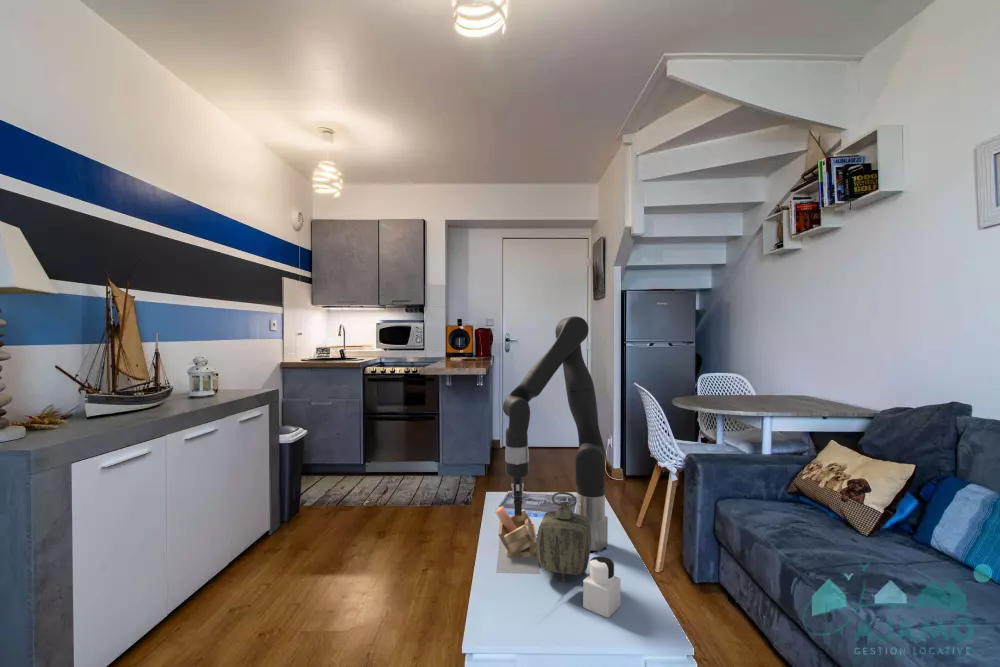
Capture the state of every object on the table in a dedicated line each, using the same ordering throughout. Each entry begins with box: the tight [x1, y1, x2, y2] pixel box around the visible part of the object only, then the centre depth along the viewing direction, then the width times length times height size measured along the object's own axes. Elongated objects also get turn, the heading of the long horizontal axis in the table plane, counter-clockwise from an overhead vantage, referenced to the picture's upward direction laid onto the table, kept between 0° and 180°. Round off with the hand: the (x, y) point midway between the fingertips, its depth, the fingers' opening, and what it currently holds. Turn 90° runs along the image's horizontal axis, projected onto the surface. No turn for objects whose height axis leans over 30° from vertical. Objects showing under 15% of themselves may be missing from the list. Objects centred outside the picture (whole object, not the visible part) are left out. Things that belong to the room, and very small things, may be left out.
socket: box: [498, 508, 537, 557], centre depth 148 cm, size 12×13×10 cm
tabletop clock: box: [536, 491, 591, 582], centre depth 131 cm, size 14×9×25 cm, turn 74°
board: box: [495, 536, 541, 575], centre depth 144 cm, size 23×12×1 cm, turn 177°
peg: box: [494, 505, 517, 533], centre depth 148 cm, size 3×3×11 cm
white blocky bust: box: [582, 555, 621, 619], centre depth 119 cm, size 7×7×12 cm
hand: (518, 510), depth 148 cm, fingers open, 8 cm apart
